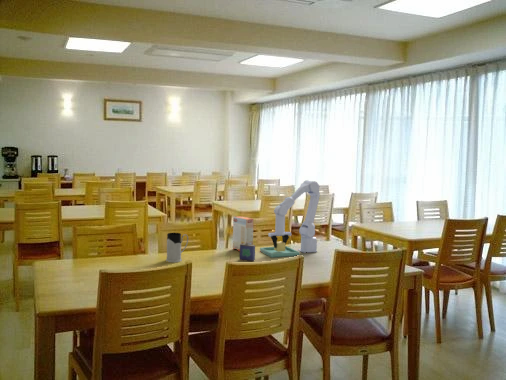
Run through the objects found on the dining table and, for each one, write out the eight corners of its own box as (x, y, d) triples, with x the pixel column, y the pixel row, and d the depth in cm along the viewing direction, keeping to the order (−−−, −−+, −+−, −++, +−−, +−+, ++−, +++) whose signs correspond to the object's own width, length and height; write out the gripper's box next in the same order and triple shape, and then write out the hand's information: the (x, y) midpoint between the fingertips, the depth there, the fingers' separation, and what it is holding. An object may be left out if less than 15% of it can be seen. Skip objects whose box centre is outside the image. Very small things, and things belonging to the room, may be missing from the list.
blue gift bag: (255, 260, 260) (255, 241, 259) (253, 261, 257) (253, 242, 256) (240, 258, 263) (240, 240, 262) (238, 260, 260) (238, 241, 259)
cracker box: (253, 252, 281) (254, 218, 279) (245, 253, 277) (245, 219, 275) (240, 248, 292) (241, 215, 290) (232, 249, 288) (233, 216, 287)
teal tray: (286, 249, 291) (286, 246, 291) (299, 255, 274) (299, 252, 274) (260, 251, 284) (260, 247, 284) (271, 257, 268) (271, 253, 267)
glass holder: (162, 260, 256) (162, 233, 254) (182, 256, 266) (183, 230, 265) (172, 263, 250) (172, 235, 248) (192, 259, 260) (192, 232, 259)
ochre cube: (281, 249, 282) (281, 241, 282) (285, 251, 277) (285, 242, 277) (274, 249, 280) (274, 241, 280) (277, 251, 276) (277, 243, 275)
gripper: (271, 227, 271) (271, 249, 273) (293, 226, 277) (293, 248, 278) (267, 225, 278) (266, 247, 279) (288, 224, 283) (288, 246, 284)
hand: (279, 247), depth 279 cm, fingers closed on ochre cube, 5 cm apart
